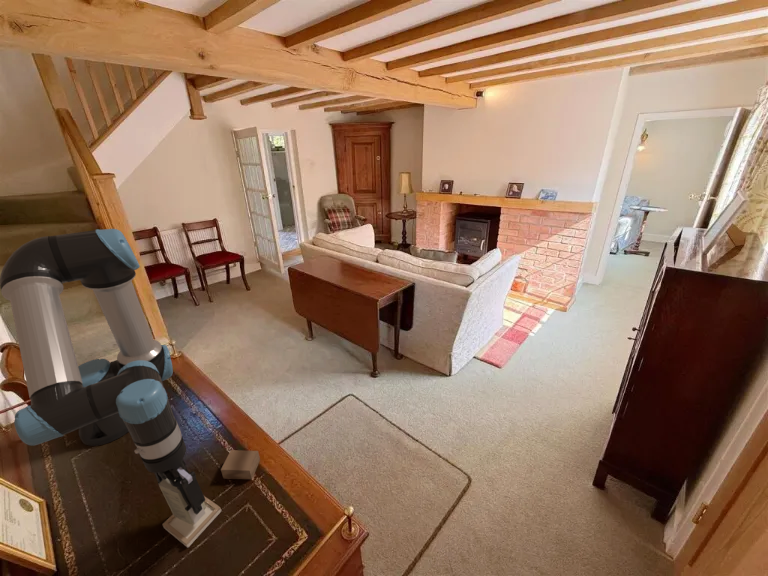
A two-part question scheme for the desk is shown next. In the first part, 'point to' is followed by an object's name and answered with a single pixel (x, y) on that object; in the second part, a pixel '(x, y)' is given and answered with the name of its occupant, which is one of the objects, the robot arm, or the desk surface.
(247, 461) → the walnut box
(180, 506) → the skincare box
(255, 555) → the desk surface
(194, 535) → the picture frame
